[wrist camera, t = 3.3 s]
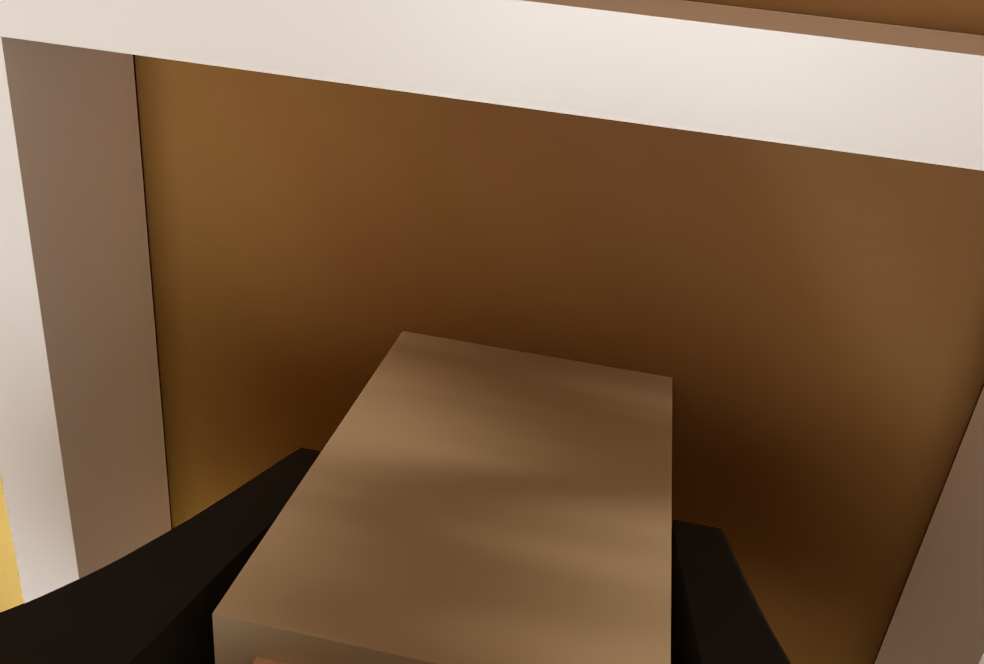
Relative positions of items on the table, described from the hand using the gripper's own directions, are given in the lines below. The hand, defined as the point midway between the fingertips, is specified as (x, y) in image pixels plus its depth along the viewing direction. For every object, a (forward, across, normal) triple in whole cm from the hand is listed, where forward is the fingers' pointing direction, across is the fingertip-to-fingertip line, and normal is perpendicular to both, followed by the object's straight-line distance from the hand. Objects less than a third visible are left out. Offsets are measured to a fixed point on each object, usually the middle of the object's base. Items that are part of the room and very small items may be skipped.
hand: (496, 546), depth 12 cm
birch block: (+2, 0, 0) cm, 2 cm away
